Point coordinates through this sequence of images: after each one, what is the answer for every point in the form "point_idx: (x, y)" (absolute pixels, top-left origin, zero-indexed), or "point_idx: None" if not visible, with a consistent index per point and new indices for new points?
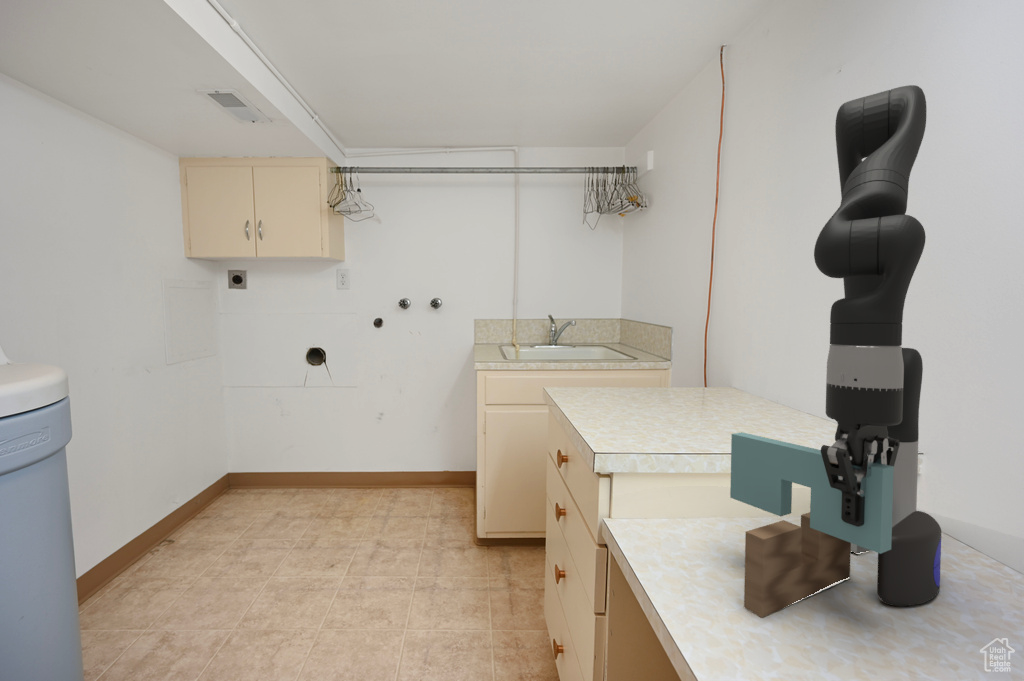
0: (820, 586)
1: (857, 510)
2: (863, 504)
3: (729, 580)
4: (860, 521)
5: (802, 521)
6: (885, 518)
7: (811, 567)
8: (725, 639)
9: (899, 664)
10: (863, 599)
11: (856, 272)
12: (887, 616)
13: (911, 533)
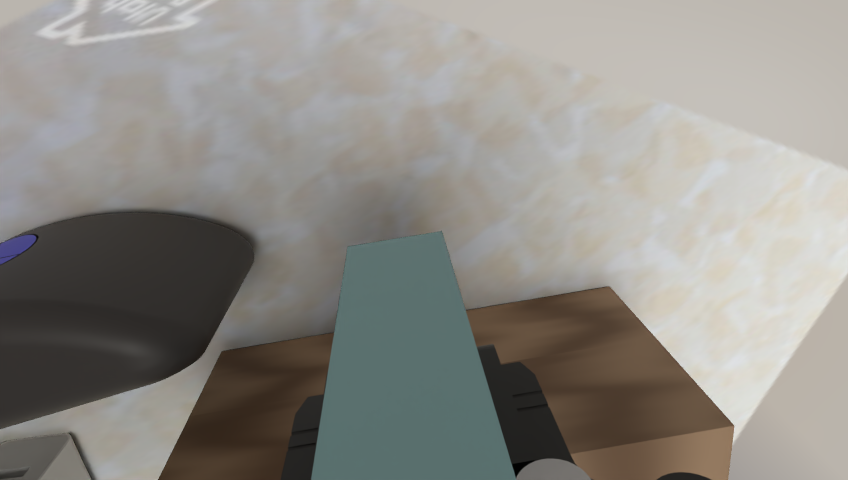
0: None
1: (516, 407)
2: (503, 423)
3: None
4: (497, 357)
5: None
6: (414, 316)
7: None
8: (753, 251)
9: (470, 62)
10: (279, 275)
11: None
12: (292, 205)
13: (33, 347)
